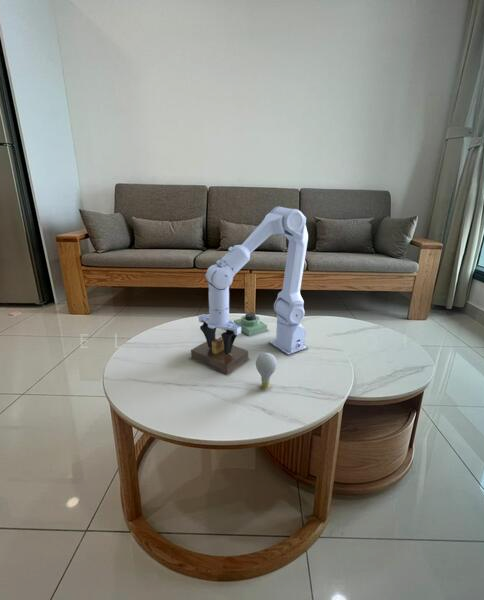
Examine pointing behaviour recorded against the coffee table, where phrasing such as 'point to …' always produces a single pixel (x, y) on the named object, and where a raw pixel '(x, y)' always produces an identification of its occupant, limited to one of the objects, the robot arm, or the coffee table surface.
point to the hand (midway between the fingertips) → (219, 349)
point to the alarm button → (250, 316)
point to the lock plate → (219, 357)
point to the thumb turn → (217, 345)
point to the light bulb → (266, 367)
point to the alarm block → (251, 325)
